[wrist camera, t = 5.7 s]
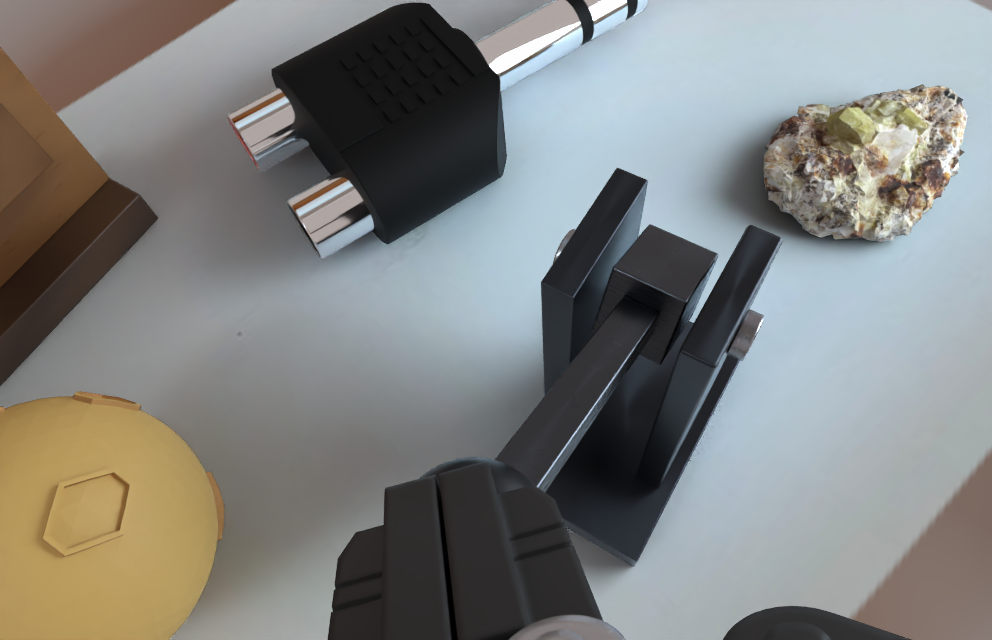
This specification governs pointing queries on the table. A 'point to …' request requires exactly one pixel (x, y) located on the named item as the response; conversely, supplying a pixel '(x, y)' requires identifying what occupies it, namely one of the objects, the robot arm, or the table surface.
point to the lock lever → (605, 355)
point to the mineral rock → (866, 162)
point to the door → (51, 219)
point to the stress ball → (100, 522)
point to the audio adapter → (405, 113)
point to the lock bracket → (641, 373)
